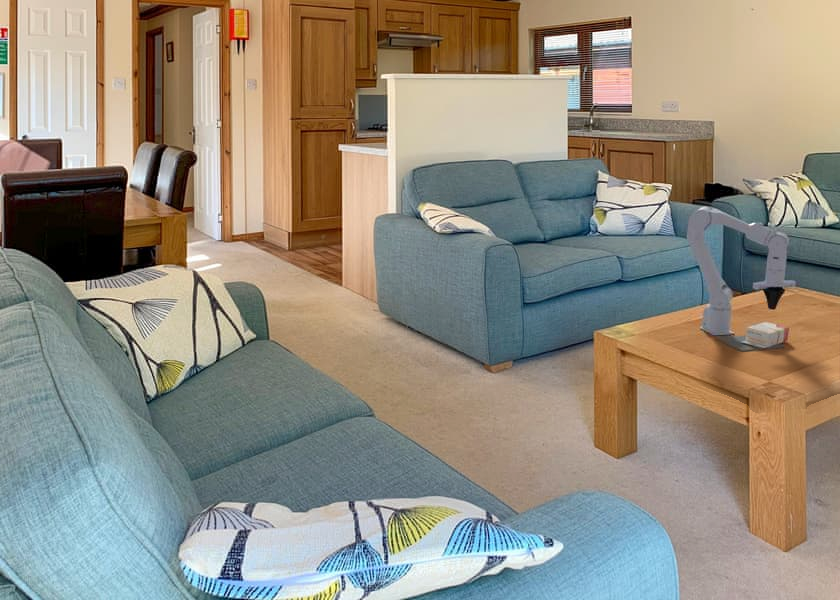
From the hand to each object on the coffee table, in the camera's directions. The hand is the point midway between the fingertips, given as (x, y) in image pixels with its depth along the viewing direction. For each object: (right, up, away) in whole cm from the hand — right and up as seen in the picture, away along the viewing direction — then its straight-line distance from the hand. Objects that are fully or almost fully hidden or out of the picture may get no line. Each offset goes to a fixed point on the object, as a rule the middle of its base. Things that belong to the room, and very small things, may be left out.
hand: (771, 308), depth 257 cm
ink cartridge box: (+2, -7, +1) cm, 8 cm away
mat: (-8, -11, -2) cm, 14 cm away
